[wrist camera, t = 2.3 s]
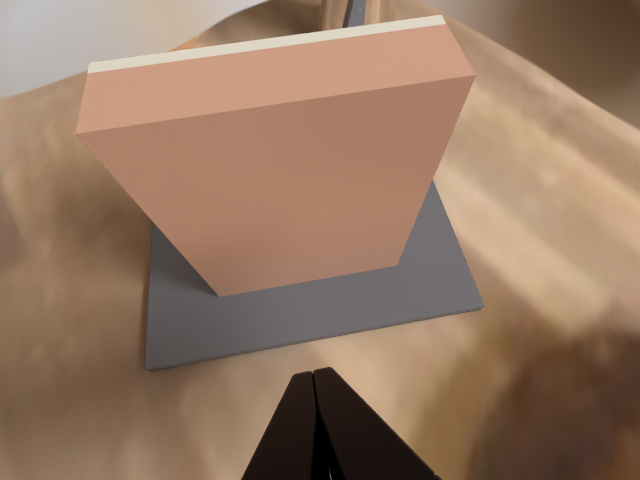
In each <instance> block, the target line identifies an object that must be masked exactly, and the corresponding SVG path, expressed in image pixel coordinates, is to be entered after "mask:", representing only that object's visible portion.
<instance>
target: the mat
mask: <svg viewBox="0 0 640 480" xmlns="http://www.w3.org/2000/svg"><path fill="white" fill-rule="evenodd" d="M483 307H484V304H483V302H482V299H481V297H480V294H479V292H478V289H477V287H476V284H475V282H474V280H473V277H472V275H471V272H470V270H469V267H468V265H467V262H466V260H465V258H464V255H463V253H462V250H461V248H460V245H459V243H458V240H457V238H456V236H455V233H454V231H453V228H452V226H451V223H450V221H449V218H448V216H447V214H446V211H445V209H444V206H443V204H442V201H441V199H440V196H439V194H438V192H437V189H436V187H435V184H434V182H433V180H432V182H431V185H430V187H429V189H428V192H427V194H426V197H425V199H424V201H423V204H422V206H421V209H420V211H419V213H418V216H417V218H416V221H415V223H414V225H413V228H412V230H411V233H410V235H409V238H408V240H407V242H406V245H405V247H404V250H403V252H402V254H401V257H400V259H399V262H398V264H397V266H392V267H387V268H381V269H375V270H370V271H364V272H358V273H353V274H347V275H341V276H336V277H330V278H324V279H319V280H313V281H307V282H302V283H296V284H291V285H285V286H279V287H274V288H268V289H262V290H257V291H251V292H245V293H240V294H234V295H228V296H223V297H219V296H218V295H217V294H216V292H215V291H214V290H213V289H212V288H211V287H210V286H209V284H208V283H207V282H206V281H205V280H204V279H203V278H202V277H201V275H200V274H199V273H198V272H197V271H196V270H195V269H194V268H193V266H192V265H191V264H190V263H189V262H188V261H187V260H186V258H185V257H184V256H183V255H182V254H181V253H180V252H179V251H178V249H177V248H176V247H175V246H174V245H173V244H172V243H171V242H170V240H169V239H168V238H167V237H166V236H165V235H164V234H163V233H162V231H161V230H160V229H159V228H158V227H157V226H156V225H155V223H154V222H153V225H152V243H151V262H150V280H149V298H148V317H147V335H146V354H145V370H148V371H155V370H160V369H165V368H171V367H176V366H181V365H187V364H192V363H197V362H203V361H208V360H213V359H219V358H224V357H229V356H235V355H240V354H245V353H251V352H256V351H262V350H267V349H272V348H278V347H283V346H288V345H294V344H299V343H304V342H310V341H315V340H320V339H326V338H331V337H336V336H342V335H347V334H352V333H358V332H363V331H369V330H374V329H379V328H385V327H390V326H395V325H401V324H406V323H411V322H417V321H422V320H427V319H433V318H438V317H443V316H449V315H454V314H459V313H465V312H470V311H476V310H480V309H481V308H483Z"/></svg>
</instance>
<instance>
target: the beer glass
mask: <svg viewBox="0 0 640 480" xmlns="http://www.w3.org/2000/svg"><path fill="white" fill-rule="evenodd" d="M392 21H395V0H321V7H320V14H319V20H318V32H319V31H327V30H334V29H341V28H349V27H356V26H363V25H371V24H378V23H385V22H392Z"/></svg>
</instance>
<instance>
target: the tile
mask: <svg viewBox="0 0 640 480" xmlns="http://www.w3.org/2000/svg"><path fill="white" fill-rule="evenodd" d="M475 76H476V74H475V72H474V70H473V69H472V67H471V65H470V63H469V62H468V60H467V58H466V57H465V55H464V53H463V51H462V50H461V48H460V46H459V45H458V43H457V41H456V39H455V38H454V36H453V34H452V33H451V31H450V29H449V27H448V26H447V24H446V22H445V21H444V19H443V17H442V15H436V16H429V17H422V18H414V19H407V20H400V21H392V22H385V23H378V24H371V25H363V26H356V27H349V28H341V29H334V30H327V31H319V32H312V33H305V34H297V35H290V36H283V37H275V38H268V39H261V40H254V41H246V42H239V43H232V44H224V45H217V46H210V47H202V48H195V49H188V50H180V51H173V52H166V53H158V54H151V55H144V56H137V57H130V58H122V59H116V60H107V61H101V62H93V63H90V64H89V68H88V73H87V78H86V83H85V88H84V93H83V98H82V103H81V108H80V113H79V118H78V122H77V127H76V132H75V134H76V135H77V136H78V138H79V139H80V140H81V141H82V142H83V143H84V144H85V145H86V147H87V148H88V149H89V150H90V151H91V152H92V153H93V155H94V156H95V157H96V158H97V159H98V160H99V161H100V162H101V164H102V165H103V166H104V167H105V168H106V169H107V170H108V171H109V173H110V174H111V175H112V176H113V177H114V178H115V179H116V181H117V182H118V183H119V184H120V185H121V186H122V187H123V188H124V190H125V191H126V192H127V193H128V194H129V195H130V196H131V197H132V199H133V200H134V201H135V202H136V203H137V204H138V205H139V207H140V208H141V209H142V210H143V211H144V212H145V213H146V214H147V216H148V217H149V218H150V219H151V220H152V221H153V222H154V223H155V225H156V226H157V227H158V228H159V229H160V230H161V231H162V233H163V234H164V235H165V236H166V237H167V238H168V239H169V240H170V242H171V243H172V244H173V245H174V246H175V247H176V248H177V249H178V251H179V252H180V253H181V254H182V255H183V256H184V257H185V258H186V260H187V261H188V262H189V263H190V264H191V265H192V266H193V268H194V269H195V270H196V271H197V272H198V273H199V274H200V275H201V277H202V278H203V279H204V280H205V281H206V282H207V283H208V284H209V286H210V287H211V288H212V289H213V290H214V291H215V292H216V294H217V295H218V296H219V297H223V296H228V295H234V294H240V293H245V292H251V291H257V290H262V289H268V288H274V287H279V286H285V285H291V284H296V283H302V282H307V281H313V280H319V279H324V278H330V277H336V276H341V275H347V274H353V273H358V272H364V271H370V270H375V269H381V268H387V267H392V266H397V264H398V262H399V259H400V257H401V254H402V252H403V250H404V247H405V245H406V242H407V240H408V238H409V235H410V233H411V230H412V228H413V225H414V223H415V221H416V218H417V216H418V213H419V211H420V209H421V206H422V204H423V201H424V199H425V197H426V194H427V192H428V189H429V187H430V185H431V182H432V180H433V177H434V175H435V172H436V170H437V168H438V165H439V163H440V160H441V158H442V156H443V153H444V151H445V148H446V146H447V144H448V141H449V139H450V136H451V134H452V132H453V129H454V127H455V124H456V122H457V119H458V117H459V115H460V112H461V110H462V107H463V105H464V103H465V100H466V98H467V95H468V93H469V91H470V88H471V86H472V83H473V81H474V79H475Z"/></svg>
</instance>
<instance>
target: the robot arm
mask: <svg viewBox="0 0 640 480" xmlns="http://www.w3.org/2000/svg"><path fill="white" fill-rule="evenodd" d="M329 469H330V470H329ZM330 474H331V477H330ZM331 479H332V480H442V479H441V478H440V477H439V476H438V475H434V472H433V470H432V469H431V468H430V467H429V466H428V465H427V464H426V463H425V462H424V461H423V460H422V459H421V458H420V457H419V456H418V455H417V454H416V453H415V452H414V451H413V450H412V449H411V448H410V447H409V446H408V445H407V444H406V443H405V442H404V441H403V440H402V439H401V438H400V437H399V436H398V435H397V434H396V433H395V432H394V431H393V430H392V429H391V428H390V426H389V425H388V424H387V423H386V422H385V421H384V420H383V419H382V418H381V417H380V416H379V415H378V414H377V413H376V412H375V411H374V410H373V409H372V408H371V407H370V406H369V405H368V404H367V403H366V402H365V401H364V400H363V399H362V398H361V397H360V396H359V395H358V394H357V393H356V392H355V391H354V390H353V389H352V388H351V387H350V386H349V385H348V384H347V383H346V382H345V381H344V380H343V378H342V377H341V376H340V375H339V374H338V373H337V372H336V371H335V370H334V369H333V368H331V367H326V368H321V369H317V370H314V371H313V373H312V372H311V371H307V372H302V373H297V374H294V375H293V376H292V378H291V380H290V382H289V384H288V386H287V388H286V390H285V392H284V394H283V397H282V399H281V401H280V403H279V405H278V407H277V409H276V411H275V413H274V415H273V417H272V419H271V421H270V423H269V425H268V427H267V429H266V431H265V433H264V435H263V437H262V439H261V441H260V443H259V445H258V447H257V449H256V451H255V453H254V455H253V457H252V459H251V461H250V463H249V465H248V467H247V469H246V471H245V473H244V475H243V477H242V479H241V480H331Z"/></svg>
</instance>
